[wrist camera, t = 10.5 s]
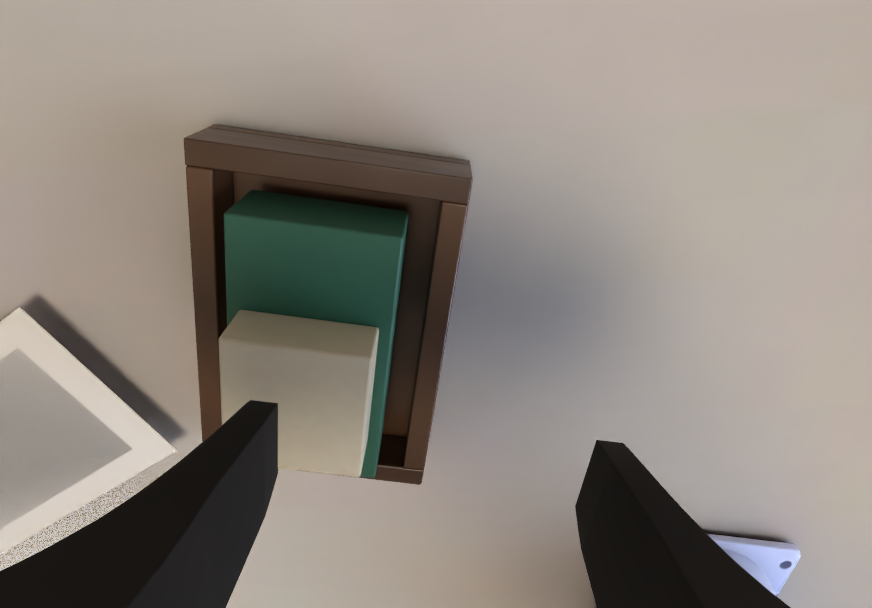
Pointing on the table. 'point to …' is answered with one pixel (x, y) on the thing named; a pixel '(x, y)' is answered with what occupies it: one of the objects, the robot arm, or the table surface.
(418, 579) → the table surface
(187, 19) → the table surface
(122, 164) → the table surface
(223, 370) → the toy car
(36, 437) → the touchpad
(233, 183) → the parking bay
